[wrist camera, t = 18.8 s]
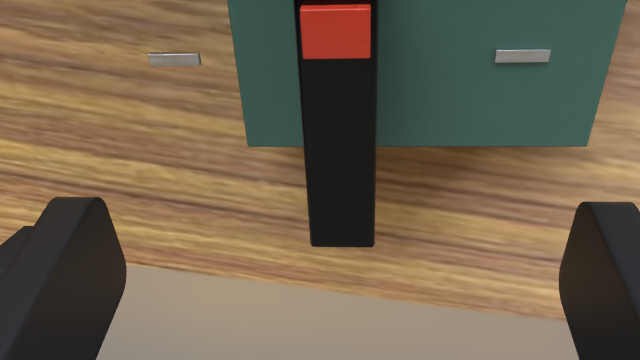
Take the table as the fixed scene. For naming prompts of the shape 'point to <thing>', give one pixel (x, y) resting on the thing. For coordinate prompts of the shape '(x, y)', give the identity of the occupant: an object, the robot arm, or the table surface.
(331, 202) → the black flat block
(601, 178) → the table surface
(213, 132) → the table surface
